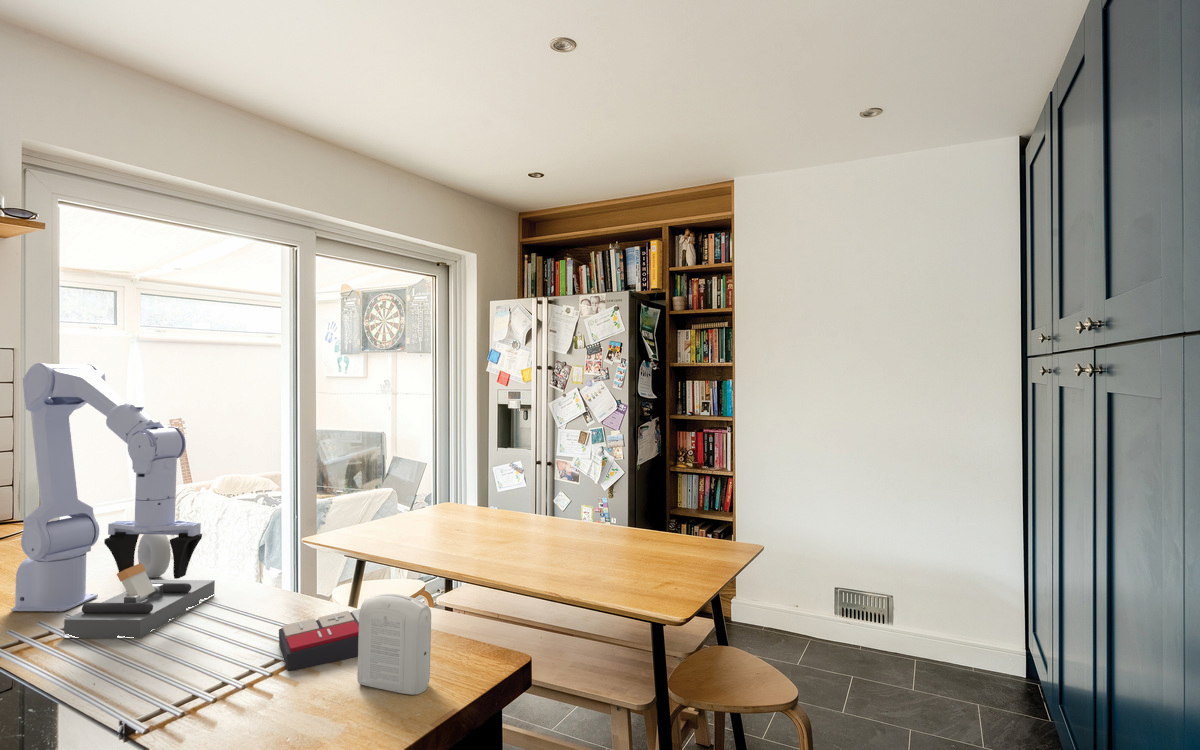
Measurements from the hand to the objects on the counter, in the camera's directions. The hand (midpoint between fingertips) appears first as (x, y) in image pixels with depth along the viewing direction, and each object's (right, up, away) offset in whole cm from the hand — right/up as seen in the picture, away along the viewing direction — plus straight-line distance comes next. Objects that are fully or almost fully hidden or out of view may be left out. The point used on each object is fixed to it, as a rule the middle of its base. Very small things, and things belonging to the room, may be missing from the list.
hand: (153, 576), depth 108 cm
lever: (-2, -3, 0) cm, 4 cm away
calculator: (+36, -9, -10) cm, 38 cm away
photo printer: (+49, -8, -22) cm, 54 cm away
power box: (-3, -7, +2) cm, 8 cm away
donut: (-16, -8, +23) cm, 29 cm away
